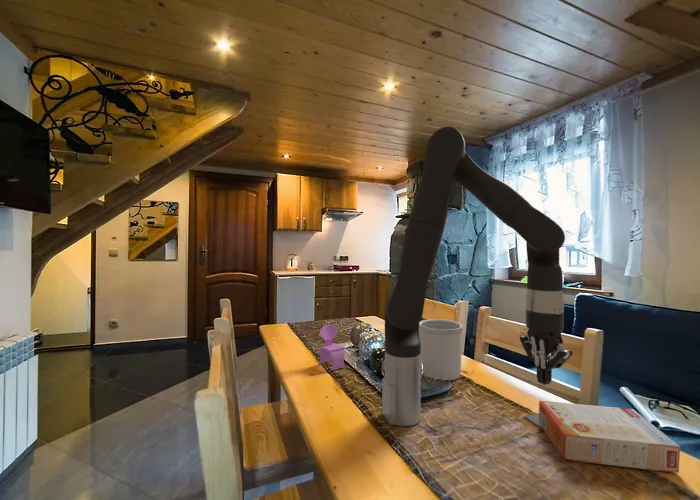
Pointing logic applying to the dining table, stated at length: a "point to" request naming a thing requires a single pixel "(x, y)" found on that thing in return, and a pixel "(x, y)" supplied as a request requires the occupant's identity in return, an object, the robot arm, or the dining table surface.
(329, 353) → the toy chair
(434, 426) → the dining table surface
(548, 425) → the cracker box
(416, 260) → the robot arm
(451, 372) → the utensil holder
